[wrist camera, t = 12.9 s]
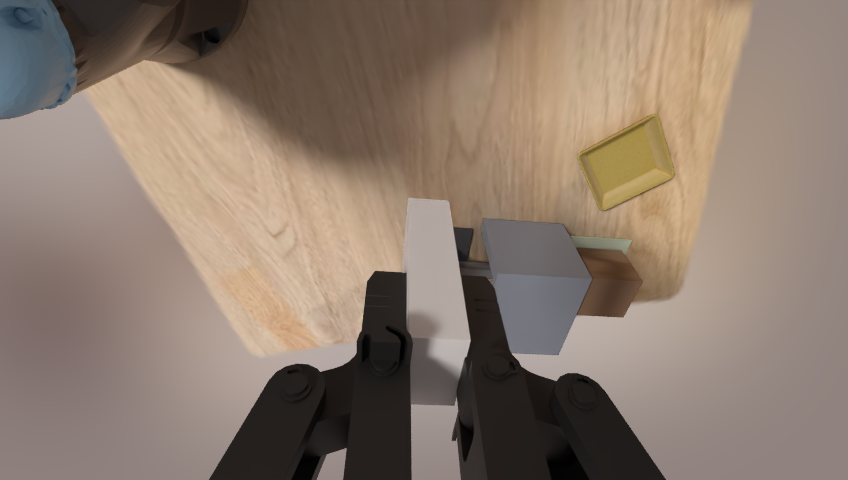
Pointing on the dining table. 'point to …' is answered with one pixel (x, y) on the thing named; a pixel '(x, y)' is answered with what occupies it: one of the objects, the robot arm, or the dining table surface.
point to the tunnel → (535, 282)
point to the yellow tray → (627, 163)
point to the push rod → (608, 285)
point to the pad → (601, 243)
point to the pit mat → (462, 242)
